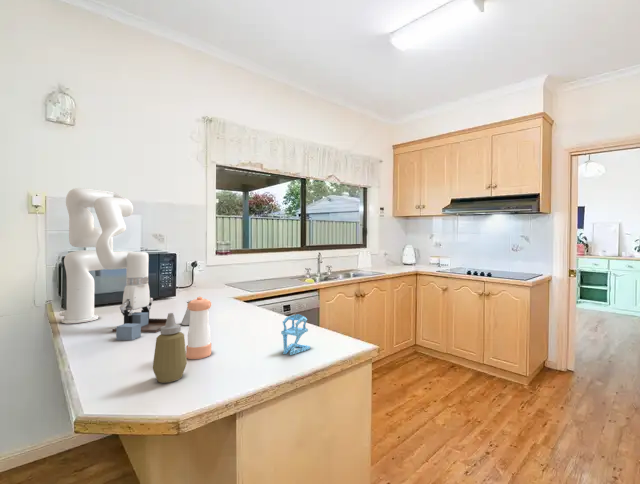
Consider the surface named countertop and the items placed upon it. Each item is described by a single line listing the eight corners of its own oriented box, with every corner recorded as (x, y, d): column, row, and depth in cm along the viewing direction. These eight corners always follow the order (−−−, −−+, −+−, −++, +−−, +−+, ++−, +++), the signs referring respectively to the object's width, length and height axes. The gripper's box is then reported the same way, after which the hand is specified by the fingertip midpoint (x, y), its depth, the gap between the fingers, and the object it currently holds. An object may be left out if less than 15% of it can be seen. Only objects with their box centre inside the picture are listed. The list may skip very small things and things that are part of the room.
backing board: (112, 331, 136) (112, 325, 136) (134, 323, 148) (134, 318, 148) (155, 332, 135) (156, 326, 135) (174, 324, 147) (174, 318, 147)
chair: (277, 353, 113) (277, 317, 113) (292, 345, 121) (292, 312, 121) (296, 356, 110) (297, 319, 110) (310, 348, 118) (311, 314, 118)
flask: (203, 321, 152) (203, 299, 152) (193, 326, 145) (193, 302, 145) (188, 321, 153) (188, 299, 153) (177, 325, 146) (177, 302, 146)
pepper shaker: (185, 360, 105) (186, 299, 106) (186, 353, 112) (187, 295, 112) (211, 357, 109) (212, 297, 109) (210, 350, 115) (211, 294, 115)
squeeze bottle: (162, 373, 96) (163, 310, 96) (191, 372, 97) (192, 309, 97) (145, 385, 88) (146, 316, 88) (177, 385, 89) (178, 316, 89)
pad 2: (126, 326, 139) (126, 314, 139) (134, 323, 144) (134, 312, 144) (140, 327, 139) (140, 314, 139) (148, 324, 144) (148, 312, 144)
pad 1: (116, 340, 125) (116, 326, 125) (125, 336, 130) (125, 323, 130) (131, 340, 125) (132, 326, 125) (140, 336, 130) (141, 323, 130)
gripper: (143, 278, 150) (143, 316, 150) (112, 284, 133) (111, 327, 133) (160, 278, 150) (159, 317, 150) (130, 284, 133) (130, 327, 133)
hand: (136, 322), depth 141 cm, fingers open, 9 cm apart
